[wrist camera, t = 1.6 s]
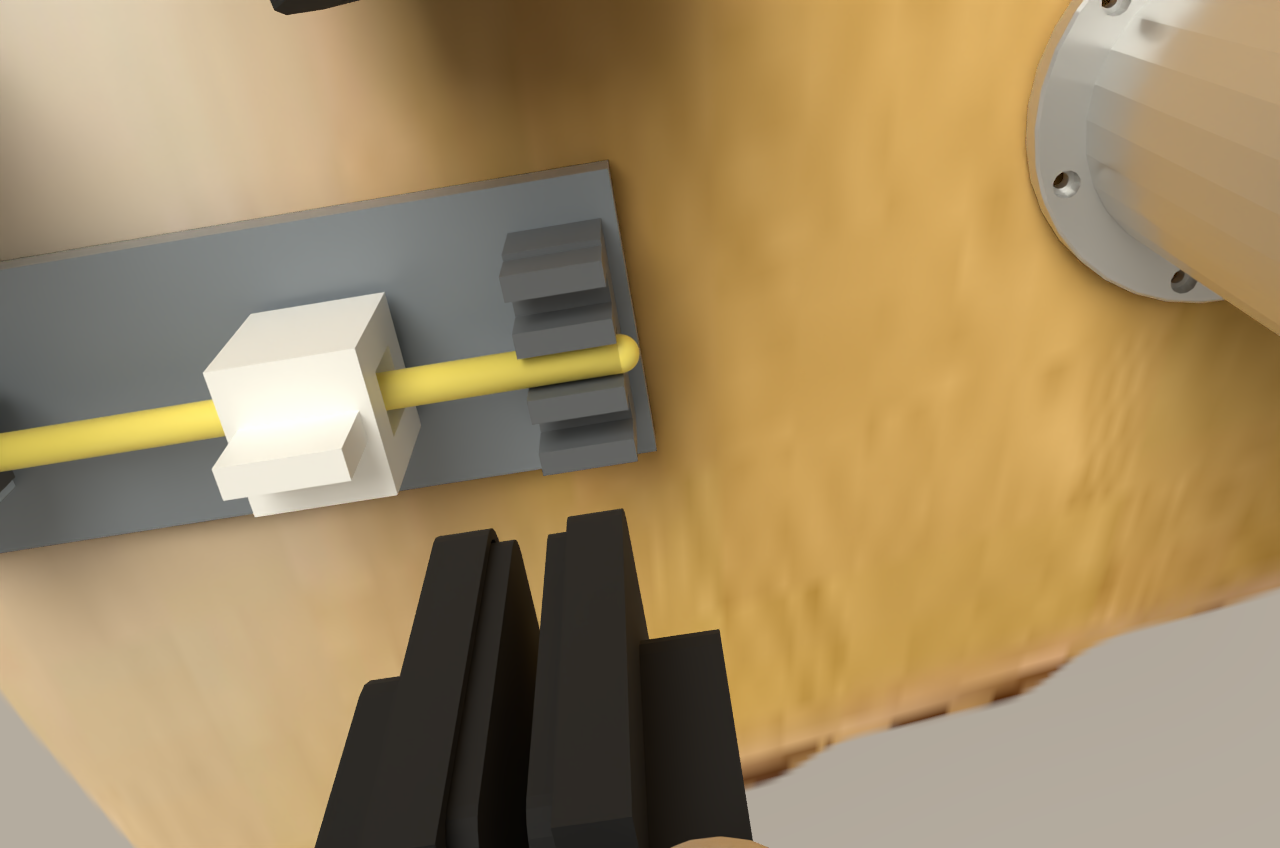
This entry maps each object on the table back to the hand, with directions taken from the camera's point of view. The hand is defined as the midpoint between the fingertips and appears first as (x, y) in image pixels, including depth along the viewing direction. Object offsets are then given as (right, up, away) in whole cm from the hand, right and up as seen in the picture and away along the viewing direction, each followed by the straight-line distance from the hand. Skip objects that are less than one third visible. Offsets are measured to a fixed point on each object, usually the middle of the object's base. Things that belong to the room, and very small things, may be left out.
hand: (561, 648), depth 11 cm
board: (-12, +4, +28) cm, 31 cm away
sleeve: (-9, +4, +26) cm, 28 cm away
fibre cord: (-11, +3, +24) cm, 27 cm away
